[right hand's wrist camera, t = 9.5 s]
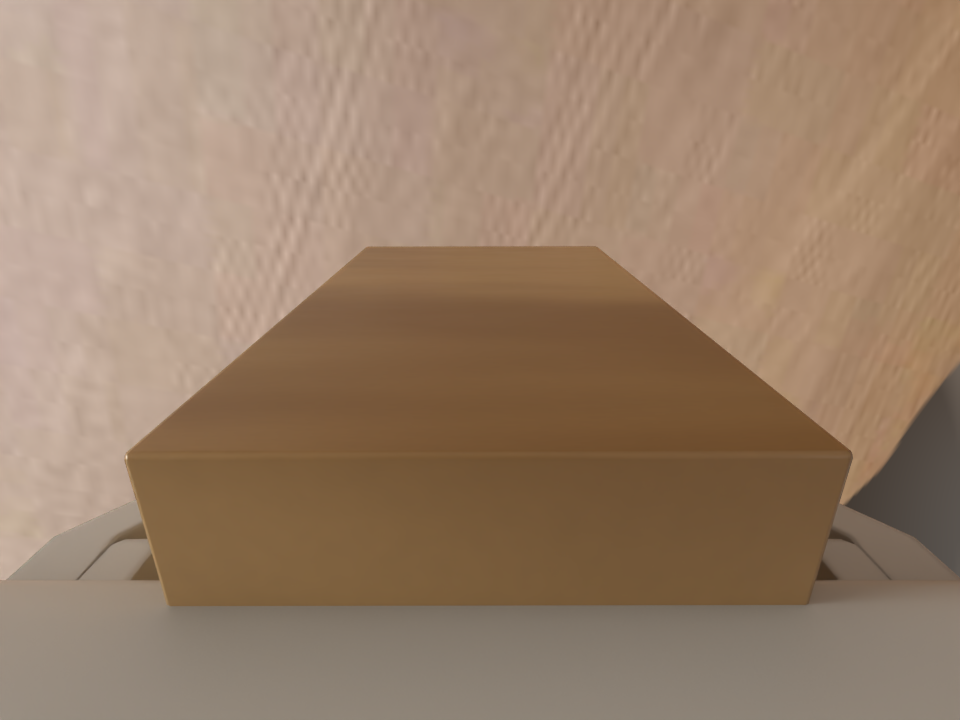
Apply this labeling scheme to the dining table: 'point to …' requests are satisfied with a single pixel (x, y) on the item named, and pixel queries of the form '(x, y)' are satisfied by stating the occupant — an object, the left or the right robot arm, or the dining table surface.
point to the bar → (487, 450)
